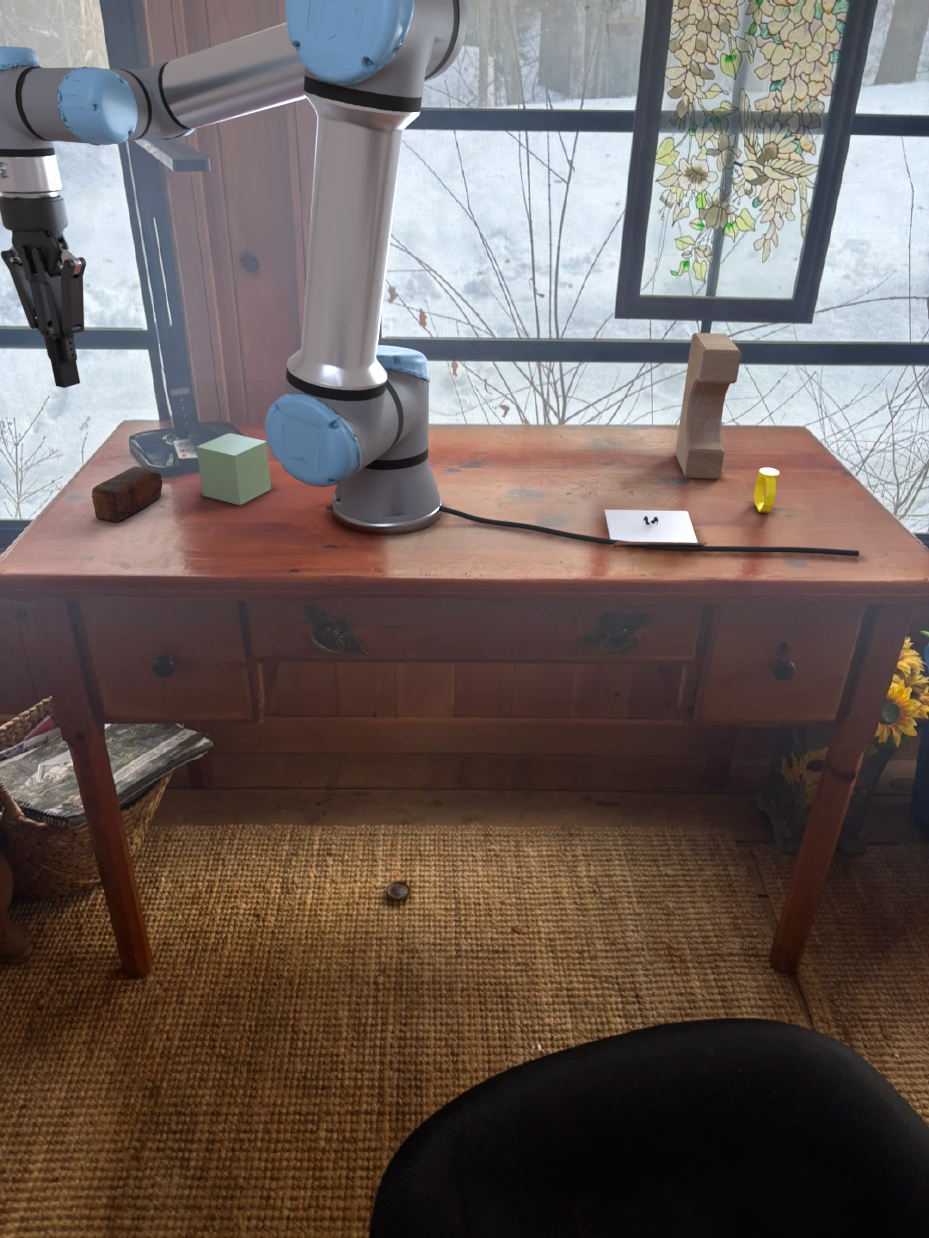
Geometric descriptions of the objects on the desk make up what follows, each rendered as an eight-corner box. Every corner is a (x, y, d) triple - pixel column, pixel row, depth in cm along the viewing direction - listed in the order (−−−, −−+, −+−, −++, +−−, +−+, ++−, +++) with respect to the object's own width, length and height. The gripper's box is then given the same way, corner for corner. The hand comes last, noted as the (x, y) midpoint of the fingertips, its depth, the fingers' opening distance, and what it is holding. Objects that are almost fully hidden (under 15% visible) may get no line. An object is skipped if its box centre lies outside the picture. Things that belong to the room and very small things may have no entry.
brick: (120, 524, 124) (114, 492, 122) (95, 520, 125) (89, 488, 123) (165, 496, 133) (160, 465, 131) (141, 492, 134) (136, 462, 132)
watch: (747, 500, 136) (754, 462, 133) (766, 501, 136) (773, 463, 133) (756, 517, 131) (764, 478, 128) (776, 518, 131) (784, 478, 128)
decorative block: (720, 480, 143) (742, 351, 132) (683, 479, 143) (702, 349, 133) (709, 455, 152) (729, 333, 142) (674, 454, 152) (692, 332, 142)
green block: (271, 489, 136) (266, 441, 132) (240, 505, 131) (234, 455, 127) (234, 480, 139) (229, 432, 135) (202, 495, 133) (196, 446, 130)
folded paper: (686, 518, 130) (688, 505, 129) (706, 556, 119) (708, 542, 118) (602, 516, 130) (603, 504, 129) (614, 554, 119) (616, 541, 118)
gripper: (-33, 193, 112) (11, 384, 124) (41, 200, 107) (80, 399, 119) (18, 188, 118) (56, 371, 130) (92, 195, 112) (124, 385, 124)
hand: (68, 384), depth 124 cm, fingers closed
